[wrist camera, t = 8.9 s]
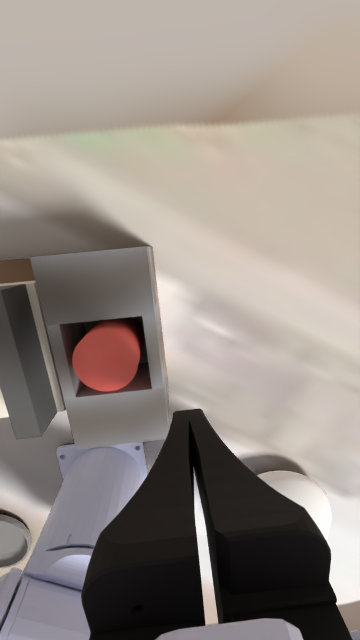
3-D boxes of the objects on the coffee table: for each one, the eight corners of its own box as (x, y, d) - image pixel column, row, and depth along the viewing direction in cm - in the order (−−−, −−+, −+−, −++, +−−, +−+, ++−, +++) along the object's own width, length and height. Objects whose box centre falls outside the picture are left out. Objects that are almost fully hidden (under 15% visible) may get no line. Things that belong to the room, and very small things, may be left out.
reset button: (146, 359, 19) (141, 387, 15) (96, 364, 19) (79, 394, 15) (139, 311, 18) (133, 328, 14) (87, 316, 18) (66, 335, 14)
